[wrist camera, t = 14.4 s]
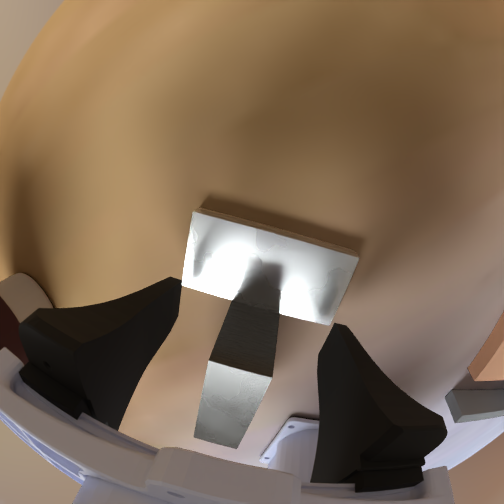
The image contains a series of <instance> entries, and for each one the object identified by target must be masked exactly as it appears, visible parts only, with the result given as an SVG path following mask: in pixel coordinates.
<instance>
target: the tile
mask: <svg viewBox="0 0 504 504" xmlns="http://www.w3.org/2000/svg"><path fill="white" fill-rule="evenodd" d="M468 370H469V372H470V374H471V376H472V378H473V379H474V381H495V380H504V312H503V314H502V315H501V317H500V319H499V321H498V322H497V324H496V326H495V328H494V329H493V331H492V333H491V334H490V336H489V337H488V339H487V341H486V342H485V344H484V345H483V347H482V348H481V350H480V351H479V353H478V354H477V356H476V357H475V359H474V360H473V361H472V363H471V364H470V366H469V367H468Z"/></svg>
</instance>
